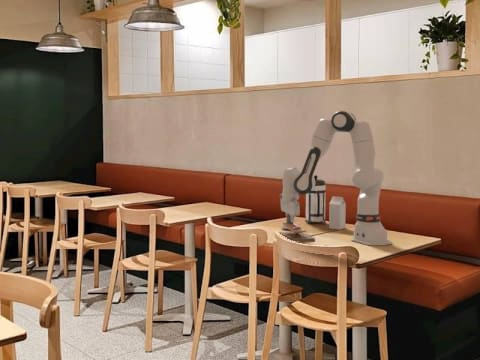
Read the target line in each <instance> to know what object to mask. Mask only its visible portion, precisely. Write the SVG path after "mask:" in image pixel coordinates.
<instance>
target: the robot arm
mask: <svg viewBox="0 0 480 360" xmlns="http://www.w3.org/2000/svg"><path fill="white" fill-rule="evenodd" d="M312 132H313V133H312V135H311V138H310V142H309V146H308V153H307V156H306V160H305V161H304V162H305V163H304V165H303V167H302V170H299V168H297V167H290V168H286V169H284V171H283V173H282V193H281V194H279V199H280V203H279V204H280V210H281V212H284V213H285V217H286V218H287V216H291V217H290V222H294V220H295V217H296V216H297V217H299V216H300V214H301V211H300V209H301V208H300V202H299V198H298V196H299V195H302V196H303V195H306V194H307V193H309V192H310V191H311V190H312V189H313V188H314V186H315V183H316V182H315V178H314V173H315V171H316V168H317V165H318V163H319V161H320V160H321V159H322V158H323V157H324V155H326V154H327V152H328V150H329V148H330V146H331V144H332V142H333V139H334V136H335V134H336V133H337V132H338V133H339V132H340V133H348V134H350V137H351V143H352V150H353V157H354V158H353V159H354V163H353V164H354V165H353V166H354V167H353V175H352V180H351V181H352V183H353V185H354V186H355V187H356V188H358V189H360V190H359V191H360V192H359V195H358V197H357V205H356V207H357V213H356V216H355V217H356V222H355V224H354V225H353V226H354V229H353V237H352V238H351V242H356V243H359V244H363V245H367V246H386V245H393V242H392V241H391V240H390V239H388V230H387V229H385V227H384V226H383V224H382V223H381V216H380V213H379V211H380V210H379V204H380V203H379V202H380V194H381V189H382V183H383V181H384V178H385V174H384V171H383V170H382V169H380V168H379V167H376V166H375V157H376V149H375V143H374V136H373V132H372V128H371V126H370V124H369V122H367V121H365V120H357V118H356V117H355V115H354V114H353V113H351V112H349V111H347V110H339V111H338V110H337V111H336V112H335V113H334V114H333V115H332V117H331V118H325V117H324V118H321V119H320V120H319V121H318V122H317V124H316V126H315V128H314V130H313V131H312Z"/></svg>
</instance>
